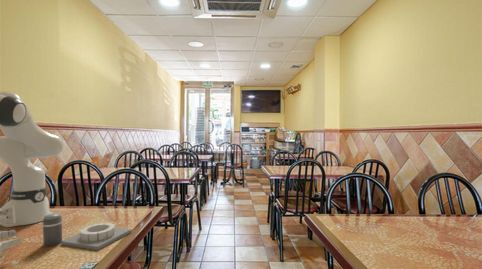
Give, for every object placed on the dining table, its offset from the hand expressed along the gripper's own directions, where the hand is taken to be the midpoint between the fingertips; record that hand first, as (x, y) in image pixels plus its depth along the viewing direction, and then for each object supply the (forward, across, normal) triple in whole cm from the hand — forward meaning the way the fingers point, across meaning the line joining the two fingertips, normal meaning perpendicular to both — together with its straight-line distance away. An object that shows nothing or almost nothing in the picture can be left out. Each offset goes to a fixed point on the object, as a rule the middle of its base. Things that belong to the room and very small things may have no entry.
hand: (17, 236), depth 84 cm
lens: (+9, 0, +5) cm, 11 cm away
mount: (+22, -8, +5) cm, 24 cm away
